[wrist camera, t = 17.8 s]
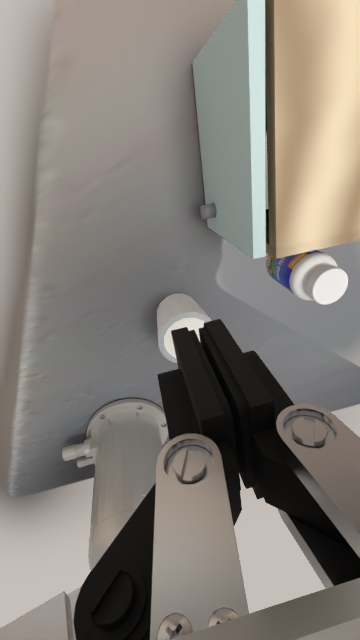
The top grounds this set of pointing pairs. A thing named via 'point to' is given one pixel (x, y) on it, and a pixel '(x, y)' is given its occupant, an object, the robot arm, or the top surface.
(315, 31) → the cabinet
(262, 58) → the door
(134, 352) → the top surface
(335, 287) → the pill bottle
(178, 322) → the white cup
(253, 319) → the top surface
